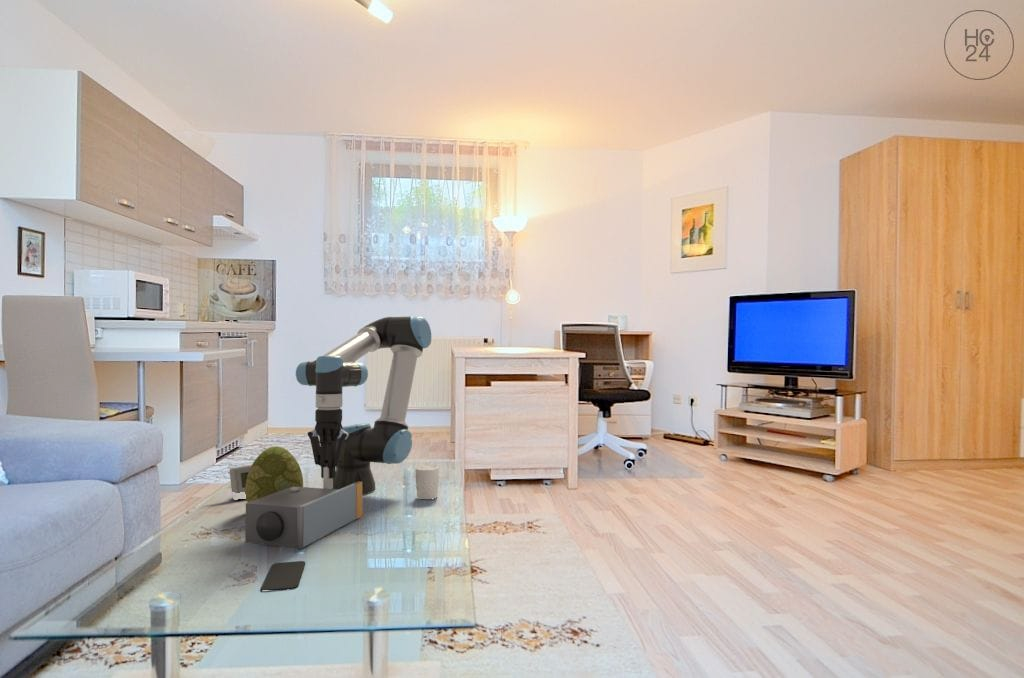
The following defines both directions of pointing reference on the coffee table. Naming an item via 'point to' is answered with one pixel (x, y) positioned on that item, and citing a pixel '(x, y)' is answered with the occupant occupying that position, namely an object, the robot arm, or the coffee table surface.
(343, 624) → the coffee table surface
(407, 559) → the coffee table surface
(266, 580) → the phone
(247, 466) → the digital clock
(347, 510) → the side door
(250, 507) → the camera body
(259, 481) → the decorative sculpture
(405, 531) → the coffee table surface
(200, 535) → the coffee table surface
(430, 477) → the white cup
